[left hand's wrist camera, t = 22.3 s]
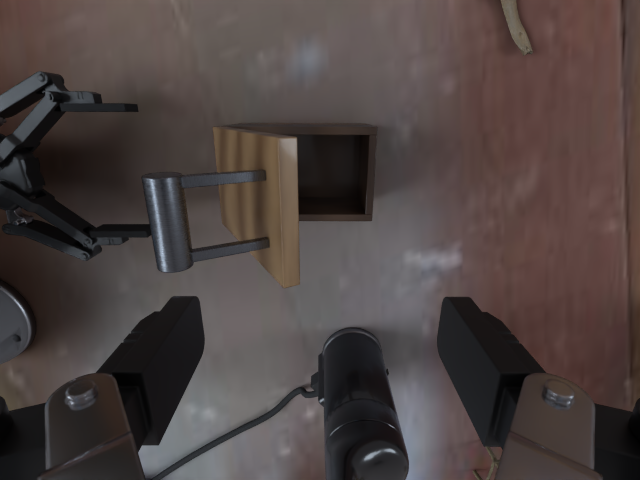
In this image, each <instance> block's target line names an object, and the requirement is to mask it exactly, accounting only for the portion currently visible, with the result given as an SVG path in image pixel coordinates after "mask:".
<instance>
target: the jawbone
mask: <svg viewBox="0 0 640 480" xmlns="http://www.w3.org/2000/svg"><path fill="white" fill-rule="evenodd" d="M500 1H501V4H502V8H503V11H504V14H505V17H506V21H507V24H508V27H509V30H510V33H511V36H512V38H513V40H514V42H515V43H516V44H517V46H518V47H519V49H520V51H521V53H522V54H523V56H524V55H526V54H528V53H529V52H530V53H529V54H532V53H533V51H532V47H531V44H530V41H529V39H528V36H527V34H526V31H525V29H524V28H523V26H522V24H521V21H520V19H519V15H518V11H517V4H516V0H500Z"/></svg>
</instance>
